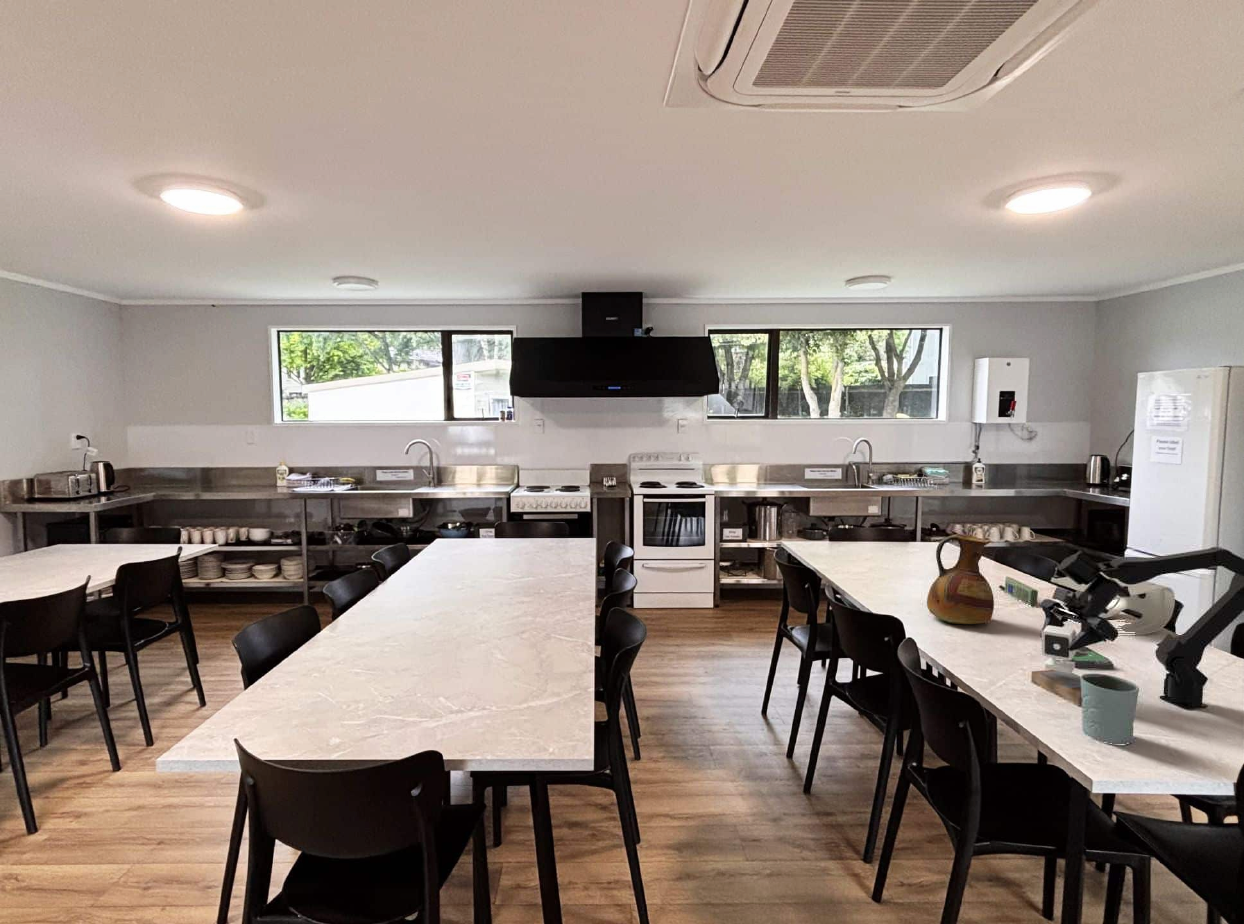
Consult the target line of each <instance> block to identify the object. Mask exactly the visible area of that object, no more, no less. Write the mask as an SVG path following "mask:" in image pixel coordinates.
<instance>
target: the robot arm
mask: <svg viewBox="0 0 1244 924" xmlns="http://www.w3.org/2000/svg"><path fill="white" fill-rule="evenodd" d="M1216 567H1222V568H1224V569H1226V570H1228V571H1230V572H1232V573H1234V574H1233V576H1232V578H1231V582H1230V583H1229V587H1228V590H1227V591H1226V592H1224V594H1223V595H1222V596H1220V598H1219V599H1218V600H1217V601H1216V602H1215V603H1213V605H1212V606H1211V607H1209V609H1207V610H1206V611H1205V613H1203V614H1202V615H1201V616H1200V617H1198V620H1196V621H1195V622H1193V624H1192V625H1191V626H1190V627H1189V628H1188V629H1187V630H1186V631H1185V632H1184V633H1182V634H1179V635H1177V636H1175V637H1174V635H1172V634H1171V633H1168V634H1167V635H1165V637H1164V638H1163V640H1162V641H1160V642H1158V643H1157V644H1156V646H1157V648H1156V649H1155V653H1154V654H1155V658H1156V659H1157V661H1158V662H1159V663H1160V664H1161V665H1162V666H1164V669H1165V671H1166V672H1168V673H1165V678H1163V695H1159V699H1161V700H1163V701H1166V702H1168V703H1171V704H1173V705H1175V706H1177V707H1180V708H1182V709H1185V710H1192V709H1194V710H1195V709H1203V708H1208V705H1207V703H1204V702H1203V697H1204V686H1206V684H1207V682H1208V680H1209V678H1208V677H1207V676H1206V675H1205V674H1204V673H1203V672H1202V671H1201V670H1199V669H1198V668H1197V667H1198V666H1199V664H1200V663H1201V661H1202V658H1203V655H1204V652H1205V650H1206V648H1207V647H1208V646H1209V645H1210V644H1212V642H1213V641H1214V640H1215V639H1216V638H1217V637H1218V636H1219V635H1221V633H1222V632H1224V630H1225V629H1227V628H1228V627H1229V626H1230V625H1231V624H1232V623H1233V622H1234V621H1235V620H1236V619H1237V618H1238V617H1239V616H1240V615H1241V614H1242V613H1244V558H1242V557H1240V556H1239V555H1236V554H1234V553H1233V552H1232V551H1230V550H1228V549H1226V548H1223V547H1222V546H1221V547H1220V546H1212V547H1209V548H1206V549H1205V548H1204V549H1199V550H1198V549H1197V550H1193V551H1186V552H1180V553H1174V554H1166V555H1160V556H1159V555H1158V556H1155V557H1154V556H1153V557H1142V556H1118V557H1114V558H1113V559H1112V560H1111V561H1105V562H1098V563H1095V562H1094V561H1092V559H1090V558H1089V557H1088V556H1087V555H1086V554H1085V553H1083V552H1082V551H1081V550H1078V551H1077V552H1076V553H1074V554H1071V555H1070V556H1068V557H1065V558H1064V559H1063V560H1062V561H1061V563H1060V564H1059V565H1058V568H1057V569H1058V570H1059V571H1060V572H1061V573H1063V574H1064V575H1065V576H1066V577H1069V578H1070V579H1072V580H1073V581H1074V582H1075V583H1077V584H1078V585H1081V584H1084V585H1088V584H1090V583H1091V582H1092V583H1091V584H1090V585H1089V586H1088V587H1087V588H1086V589H1085V590H1084V591H1083V592H1082V591H1079V590H1075V592H1074V591H1071V590H1069V589H1066V588H1062V587H1058V586H1056V588H1055V590H1054V593H1053V595H1052V597H1051V599H1049V598H1046V599H1043V600H1042V601H1041V603H1039V606H1040V607H1041V609H1042V611H1043V613H1044V615H1045V618H1044V622H1043V626H1042V629H1041V631H1040V635H1039V637H1040V639H1042V632H1043V631H1044V629H1045V628H1046V627H1047V626H1048V625H1050V626H1056V627H1063V628H1064V626H1066V625H1065V622H1069V621H1068V619H1070V620H1073V621H1075V622H1078V623H1081V626H1080V631H1079V632H1078V633H1076V637H1075V638H1074V639H1073V641H1072V642H1071V643H1070V645H1069V646H1068V649H1069V650H1070V651H1074V650H1076V649H1079V648H1082V647H1085V646H1086V647H1088V646H1092V645H1094V644H1098V643H1102V642H1103V643H1107V641H1109V642H1112V643H1113V642H1114V641H1116V639H1117V638H1118V637H1119V636H1118V630H1117V629H1116V628H1115V627H1114V626H1113V625H1112V624H1111V623H1110V622H1109V621H1108V620H1107V619H1108V618H1102V617H1099V615H1100V614H1101V613H1105V614H1107V613H1108V612H1109V611H1108V610H1107V609H1106V607H1107V606H1108V605H1109V604H1110V603H1111V602H1112V601H1113V600H1114V599H1115V597H1116V596H1117V595H1119V596H1120V597H1130V596H1131V595H1130V592H1129V590H1128V586H1121V585H1120V584H1118V583H1117V582H1116V581H1114V580H1113V579H1108V578H1106V577H1105V576H1103V575H1102V574H1101V573H1100V572H1102V573H1103V574H1104V575H1106V576H1107V577H1109V578H1114V579H1118V580H1119V581H1121V582H1122V583H1124V584H1128V585H1134V584H1138V583H1141V582H1144V581H1147V582H1149V581H1151V580H1153V579H1154V578H1156V577H1159V576H1162V575H1163V576H1164V575H1167V574H1174V573H1176V574H1177V573H1182V572H1188V571H1196V570H1203V569H1208V568H1216ZM1057 600H1058V601H1060V602H1062V604H1061V603H1060V602H1058V601H1057ZM1066 608H1067V609H1066ZM1073 616H1074V617H1073Z"/></svg>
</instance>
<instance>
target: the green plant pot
mask: <svg viewBox="0 0 1244 924" xmlns="http://www.w3.org/2000/svg"><path fill="white" fill-rule="evenodd" d="M1080 680H1081V691H1082V695H1081V697H1082V706H1081V713H1082V715H1081V724H1082V725H1081V727H1082V732H1083V731H1084V732H1083V733H1084V734H1085V735H1086V734H1087V735H1088V737H1089V736H1090V737H1092V738H1094V739H1096V740H1095V741H1097V740H1099V741H1098V742H1100V741H1102V742H1101V743H1103V742H1107V743H1112V744H1127V743H1131V744H1132V743H1133V735H1134V723H1135V716H1136V715H1135V712H1136V710H1137V703H1138V699H1139V691H1140V687H1139V685H1137V684H1135V683H1133V681H1129V680H1127V679H1125V678H1121V677H1119V676H1113V675H1109V674H1102V673H1084V674H1082V675H1080ZM1087 735H1086V736H1087ZM1090 737H1089V738H1090ZM1092 738H1091V739H1092ZM1094 739H1093V740H1094Z"/></svg>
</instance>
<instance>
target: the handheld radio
mask: <svg viewBox="0 0 1244 924" xmlns="http://www.w3.org/2000/svg"><path fill="white" fill-rule="evenodd" d="M1004 583H1005V584H1004V586H1003V585H1002V584H1001V585H999V586H998V588H999V589H1001V590H1002V589H1003V590H1002V591H1004V590H1005V591H1004V592H1005V593H1004V594H1006V593H1008V594H1009V595H1011V596H1012V598H1013V597H1015V598H1017V599H1018V600H1017V599H1016V600H1017V601H1019V600H1021V601H1022V602H1024V603H1025V604H1024V603H1023V604H1024V605H1026V604H1028V605H1031V606H1036V605H1038V597H1039V596H1038V595H1039V591H1038V590H1037V589H1036V588H1033V587H1031V586H1029V585H1027V584H1024V583H1023V582H1020V581H1019V580H1017V579H1015V578H1013V577H1009V576H1005V580H1004ZM1008 594H1007V595H1008ZM1009 595H1008V596H1009ZM1011 596H1010V597H1011ZM1015 598H1014V599H1015ZM1022 602H1021V603H1022ZM1028 605H1027V606H1028ZM1036 607H1037V606H1036Z"/></svg>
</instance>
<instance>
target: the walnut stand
mask: <svg viewBox="0 0 1244 924" xmlns="http://www.w3.org/2000/svg"><path fill="white" fill-rule="evenodd" d="M1080 677H1081V675H1077V674H1076V673H1073V672H1072V673H1071V674H1070V673H1065V672H1060V671H1055V670H1049V669H1043V670H1032V671H1031V681H1030V683H1031V682H1033V683H1034V685H1035V684H1036V685H1035V686H1037V685H1038V686H1037V687H1039V686H1041V687H1042V688H1041V687H1040V688H1041V689H1043V688H1044V689H1043V690H1045V689H1046V690H1045V691H1047V690H1048V691H1047V692H1049V691H1051V692H1052V693H1051V692H1050V693H1051V694H1053V693H1055V694H1056V696H1057V695H1059V696H1060V697H1059V696H1058V697H1059V698H1061V697H1063V698H1064V700H1065V699H1067V700H1069V701H1071V702H1073V703H1074V704H1073V703H1072V704H1073V705H1075V704H1077V705H1078V707H1082V697H1081V695H1082V691H1081V680H1080ZM1033 683H1032V684H1033ZM1055 694H1054V695H1055ZM1063 698H1062V699H1063ZM1067 700H1066V701H1067ZM1069 701H1068V702H1069ZM1071 702H1070V703H1071ZM1077 705H1076V706H1077Z"/></svg>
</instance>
